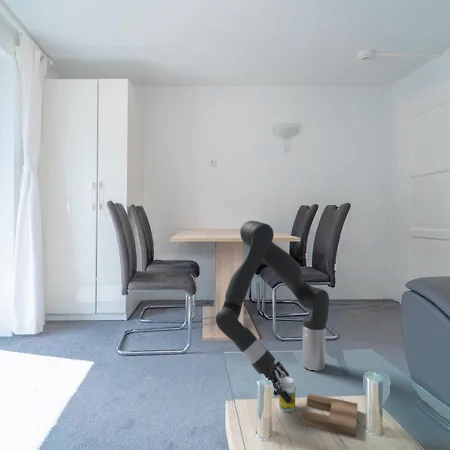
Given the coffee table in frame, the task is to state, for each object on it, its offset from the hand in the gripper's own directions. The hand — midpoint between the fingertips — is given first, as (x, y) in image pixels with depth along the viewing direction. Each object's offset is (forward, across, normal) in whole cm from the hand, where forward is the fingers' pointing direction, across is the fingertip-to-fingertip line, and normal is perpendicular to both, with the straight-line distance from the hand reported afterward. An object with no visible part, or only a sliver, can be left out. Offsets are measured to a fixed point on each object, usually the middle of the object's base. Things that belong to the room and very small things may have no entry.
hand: (292, 396), depth 119 cm
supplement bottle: (+2, 0, +4) cm, 5 cm away
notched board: (+12, 0, -6) cm, 13 cm away
